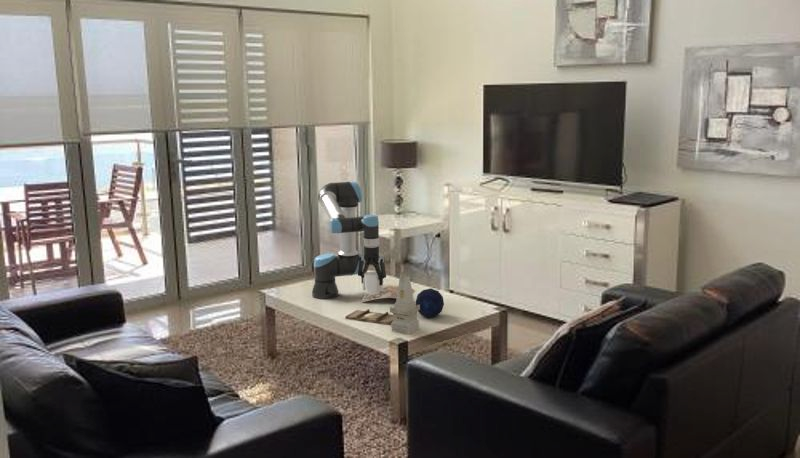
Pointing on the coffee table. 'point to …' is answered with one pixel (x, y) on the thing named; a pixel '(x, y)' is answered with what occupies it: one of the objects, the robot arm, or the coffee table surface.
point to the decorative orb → (430, 302)
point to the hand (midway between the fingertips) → (372, 290)
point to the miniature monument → (405, 307)
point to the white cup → (371, 282)
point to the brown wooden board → (371, 317)
